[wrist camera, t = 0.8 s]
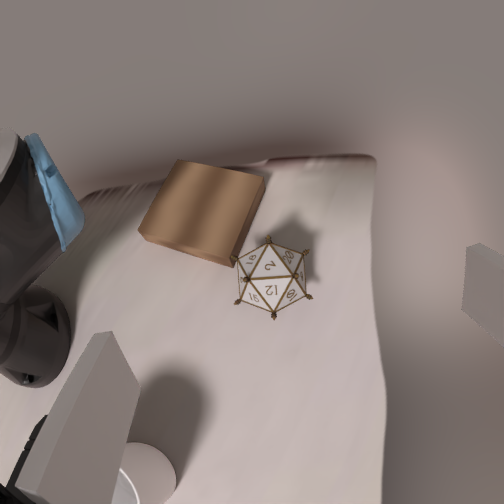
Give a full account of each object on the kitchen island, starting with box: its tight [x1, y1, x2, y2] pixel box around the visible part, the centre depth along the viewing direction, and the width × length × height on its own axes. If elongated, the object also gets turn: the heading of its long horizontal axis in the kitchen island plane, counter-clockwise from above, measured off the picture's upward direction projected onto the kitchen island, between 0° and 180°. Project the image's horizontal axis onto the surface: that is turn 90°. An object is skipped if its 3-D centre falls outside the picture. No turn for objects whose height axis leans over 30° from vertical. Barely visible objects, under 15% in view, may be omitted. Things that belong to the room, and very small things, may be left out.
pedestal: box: [138, 160, 265, 268], centre depth 42 cm, size 13×12×3 cm
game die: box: [231, 235, 313, 320], centre depth 34 cm, size 9×8×10 cm
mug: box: [111, 442, 176, 504], centre depth 25 cm, size 9×12×11 cm
